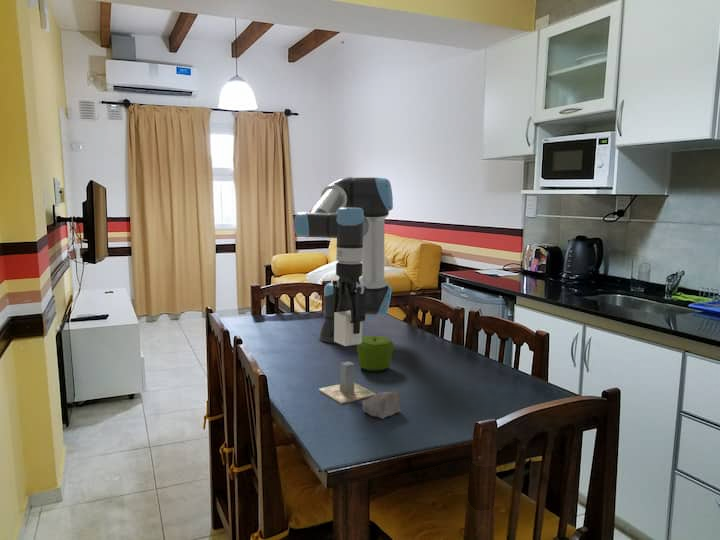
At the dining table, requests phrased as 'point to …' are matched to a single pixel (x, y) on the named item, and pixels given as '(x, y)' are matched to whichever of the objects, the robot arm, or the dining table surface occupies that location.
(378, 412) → the stone
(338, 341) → the cream cuboid
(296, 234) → the robot arm
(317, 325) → the dining table surface
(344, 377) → the square base with post
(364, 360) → the green apple
